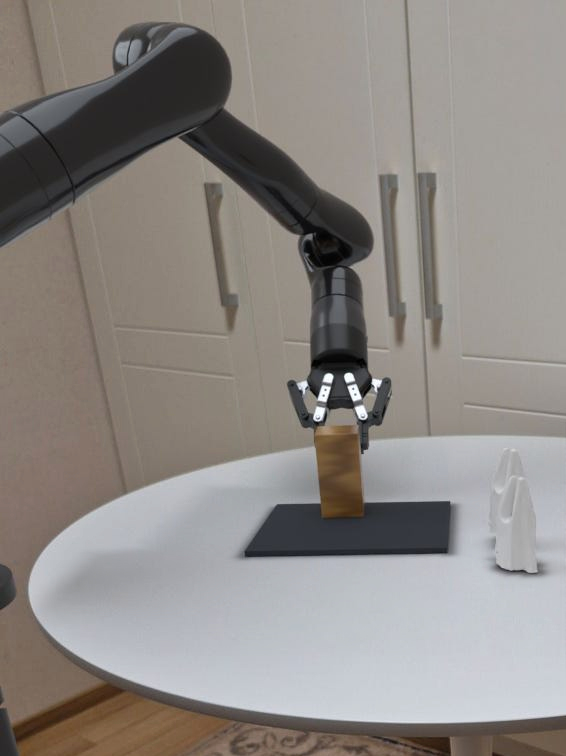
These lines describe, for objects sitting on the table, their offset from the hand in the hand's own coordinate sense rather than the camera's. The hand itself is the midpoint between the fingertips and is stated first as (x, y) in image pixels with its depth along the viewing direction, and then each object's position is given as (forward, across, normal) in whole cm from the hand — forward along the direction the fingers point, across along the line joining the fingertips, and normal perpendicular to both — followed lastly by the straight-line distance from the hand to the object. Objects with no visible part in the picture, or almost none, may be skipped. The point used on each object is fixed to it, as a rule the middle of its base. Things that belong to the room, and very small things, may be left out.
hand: (342, 451), depth 112 cm
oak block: (+9, 0, 0) cm, 9 cm away
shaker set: (+21, +19, -12) cm, 31 cm away
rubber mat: (+13, +2, -4) cm, 14 cm away
